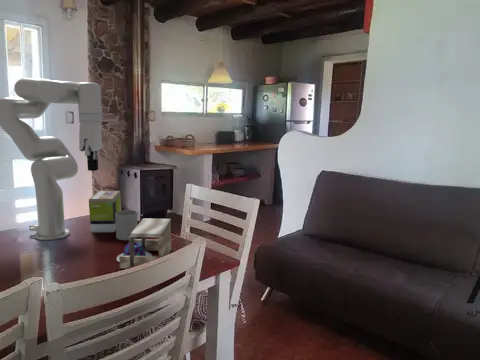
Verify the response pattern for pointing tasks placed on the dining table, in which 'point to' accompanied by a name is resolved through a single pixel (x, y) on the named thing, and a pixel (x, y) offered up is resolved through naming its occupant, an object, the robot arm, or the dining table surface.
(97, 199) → the tea box
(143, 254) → the pudding
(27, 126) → the robot arm
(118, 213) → the cup
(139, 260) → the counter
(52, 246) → the dining table surface
